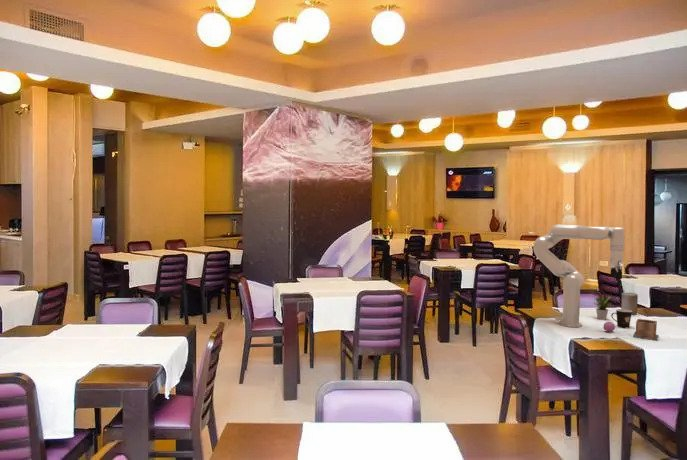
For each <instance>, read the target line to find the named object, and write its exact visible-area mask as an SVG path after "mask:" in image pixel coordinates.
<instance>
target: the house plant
mask: <svg viewBox="0 0 687 460" xmlns="http://www.w3.org/2000/svg"><path fill="white" fill-rule="evenodd" d="M604 295H605V293H604V294H602V298H601V299H600V296H599V295H598V294H596V295H595V296H594V295H592V296H593V297H594V298H595V300H596V302H597V303H596V302H593V303H591V304H592V305H595V306H598V307H597V308H595V309H596V318H597V319H598V320H602V319H605V320H607V317H608V311H609V309H608V308H609V307H612V305H611V304H612V302H608V301H610V300H611V296H608V297H607V296H605V298H604ZM607 307H608V308H607Z"/></svg>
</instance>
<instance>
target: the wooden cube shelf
mask: <svg viewBox="0 0 687 460" xmlns="http://www.w3.org/2000/svg"><path fill="white" fill-rule="evenodd" d="M657 324H658V323H657V320H650V319H642V318H637V320H636V322H635V331H634V333H633V335H632V338H635V339H643V340H648V341H649V340H650V341H658V340H659V337H660V336H659V334H657V326H658V325H657Z"/></svg>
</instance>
